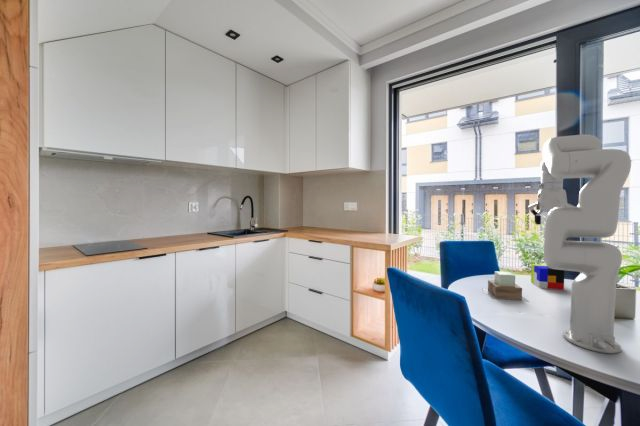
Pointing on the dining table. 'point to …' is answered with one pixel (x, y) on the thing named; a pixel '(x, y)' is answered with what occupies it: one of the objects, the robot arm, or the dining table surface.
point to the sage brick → (504, 278)
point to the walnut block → (504, 290)
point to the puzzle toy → (547, 277)
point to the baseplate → (504, 298)
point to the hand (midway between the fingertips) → (550, 224)
